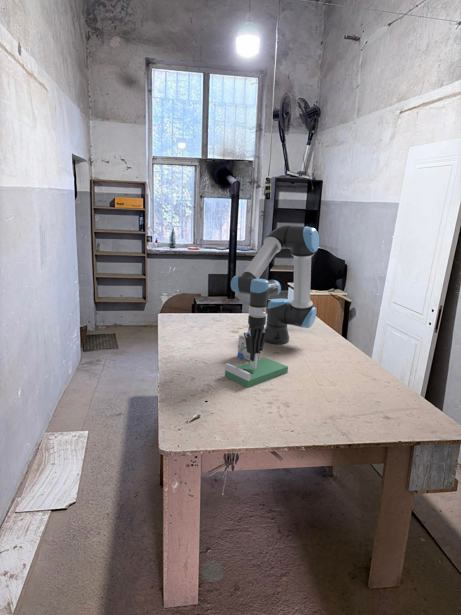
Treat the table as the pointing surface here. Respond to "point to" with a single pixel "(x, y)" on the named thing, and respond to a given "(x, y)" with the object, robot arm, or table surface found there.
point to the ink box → (243, 348)
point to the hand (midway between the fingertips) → (253, 367)
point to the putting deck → (255, 372)
